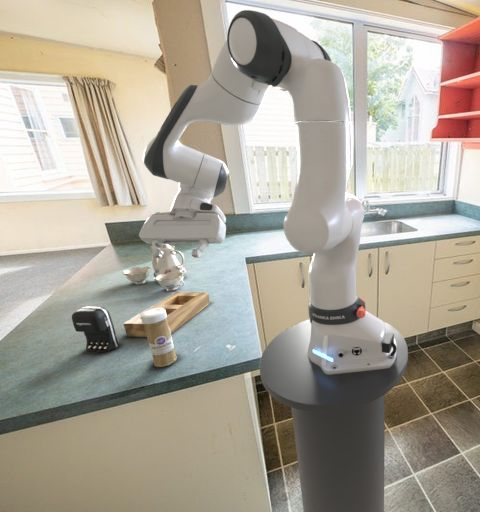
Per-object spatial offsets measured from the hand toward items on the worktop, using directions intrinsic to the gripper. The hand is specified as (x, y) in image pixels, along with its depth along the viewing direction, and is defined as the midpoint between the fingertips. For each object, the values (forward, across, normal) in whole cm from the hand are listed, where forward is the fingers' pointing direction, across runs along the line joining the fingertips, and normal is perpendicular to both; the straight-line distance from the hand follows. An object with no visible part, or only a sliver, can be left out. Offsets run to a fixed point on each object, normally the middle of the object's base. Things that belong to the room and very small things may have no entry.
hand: (176, 256), depth 76 cm
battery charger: (+21, -19, +12) cm, 30 cm away
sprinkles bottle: (+25, 0, +7) cm, 26 cm away
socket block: (+10, -11, +22) cm, 26 cm away
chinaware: (-11, -31, +43) cm, 54 cm away
